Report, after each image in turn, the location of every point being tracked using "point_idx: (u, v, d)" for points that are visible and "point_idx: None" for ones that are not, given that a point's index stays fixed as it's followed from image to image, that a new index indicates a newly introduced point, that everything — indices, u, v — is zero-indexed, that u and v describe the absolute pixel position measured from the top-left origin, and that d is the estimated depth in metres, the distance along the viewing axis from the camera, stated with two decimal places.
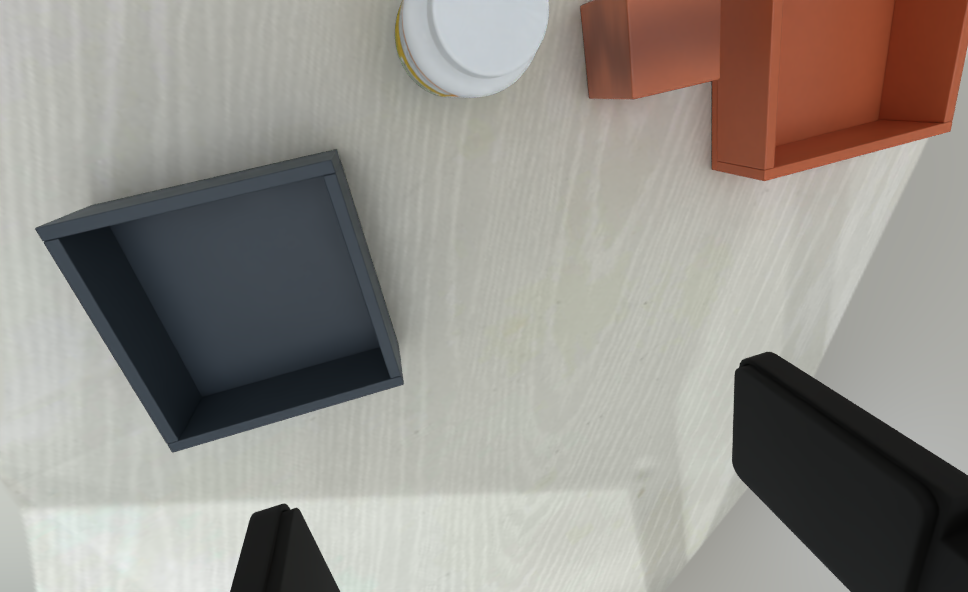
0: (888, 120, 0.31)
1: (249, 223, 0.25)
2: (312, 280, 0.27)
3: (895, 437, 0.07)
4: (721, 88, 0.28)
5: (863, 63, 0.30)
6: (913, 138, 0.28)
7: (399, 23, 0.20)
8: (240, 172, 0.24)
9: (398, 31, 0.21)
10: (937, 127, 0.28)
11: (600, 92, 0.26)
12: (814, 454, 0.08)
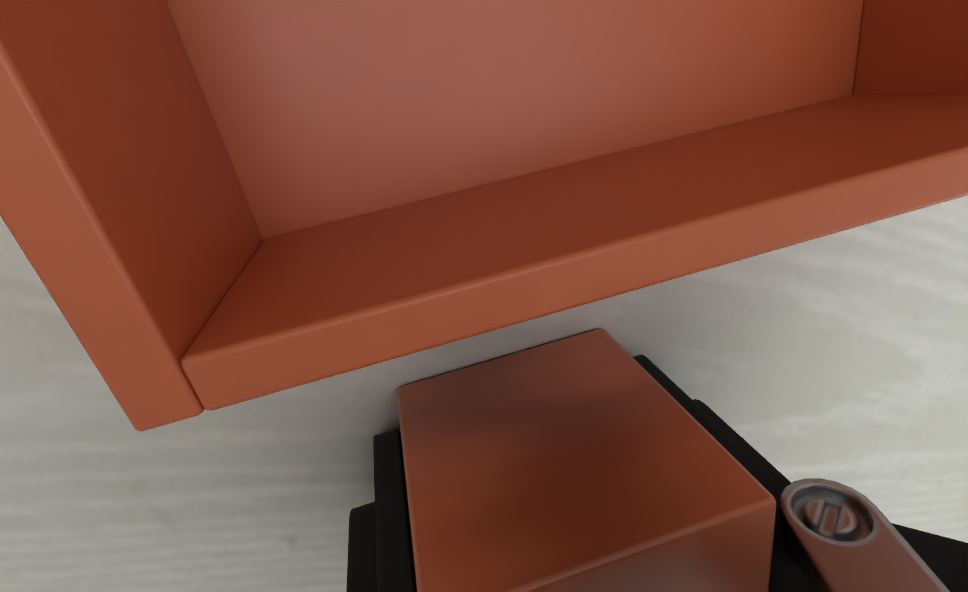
0: None
1: None
2: None
3: (717, 433, 0.08)
4: None
5: None
6: None
7: None
8: None
9: None
10: None
11: None
12: None
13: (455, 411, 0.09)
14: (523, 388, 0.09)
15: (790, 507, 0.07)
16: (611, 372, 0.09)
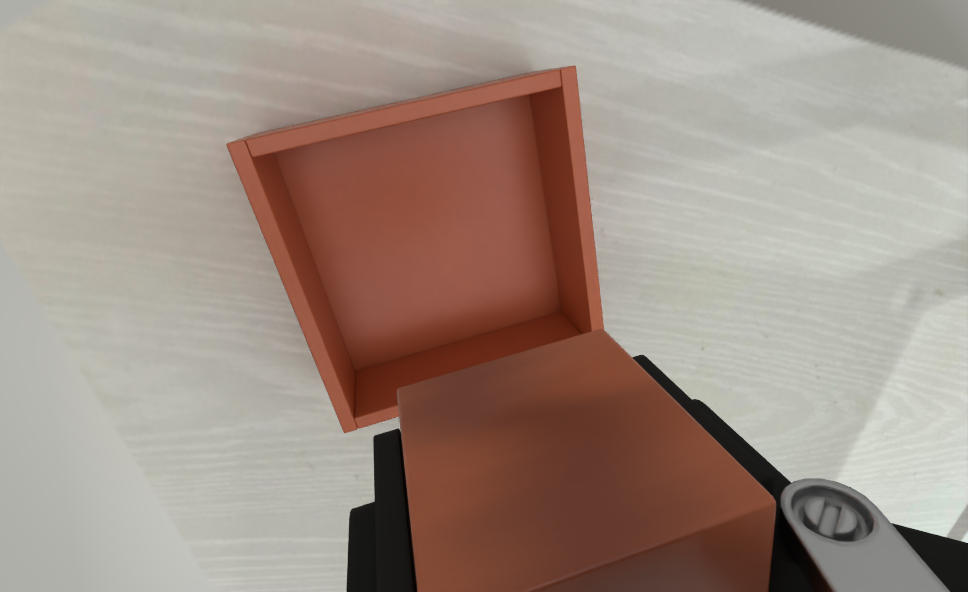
0: None
1: None
2: None
3: (717, 433, 0.08)
4: None
5: (456, 146, 0.21)
6: (579, 141, 0.18)
7: None
8: None
9: None
10: (567, 97, 0.18)
11: None
12: None
13: (455, 412, 0.09)
14: (523, 389, 0.09)
15: (790, 507, 0.07)
16: (611, 373, 0.09)
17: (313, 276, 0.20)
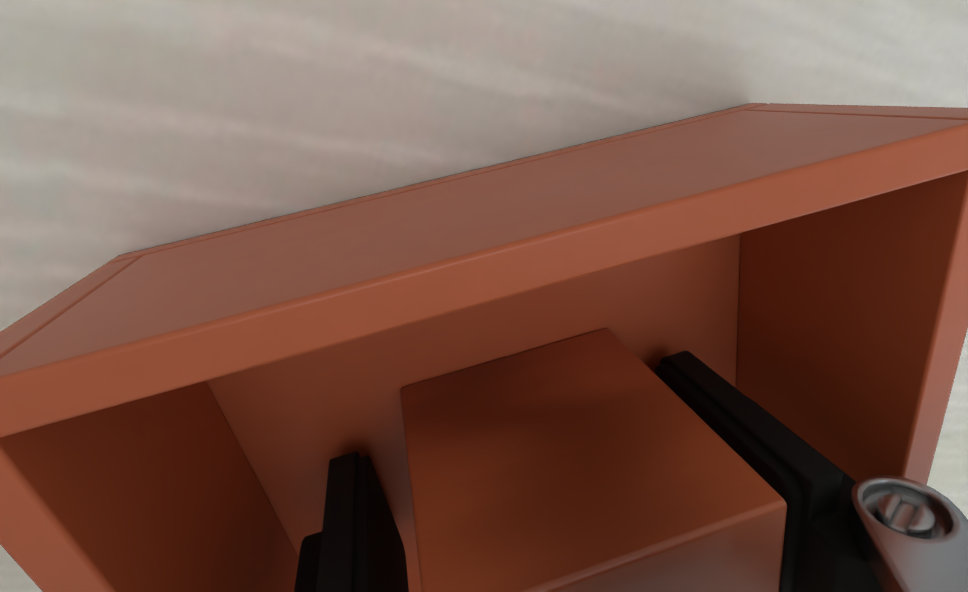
0: None
1: None
2: None
3: (776, 429, 0.08)
4: None
5: None
6: (965, 307, 0.07)
7: None
8: None
9: None
10: None
11: None
12: None
13: (460, 412, 0.09)
14: (528, 389, 0.09)
15: (861, 504, 0.07)
16: (617, 372, 0.09)
17: (261, 569, 0.09)
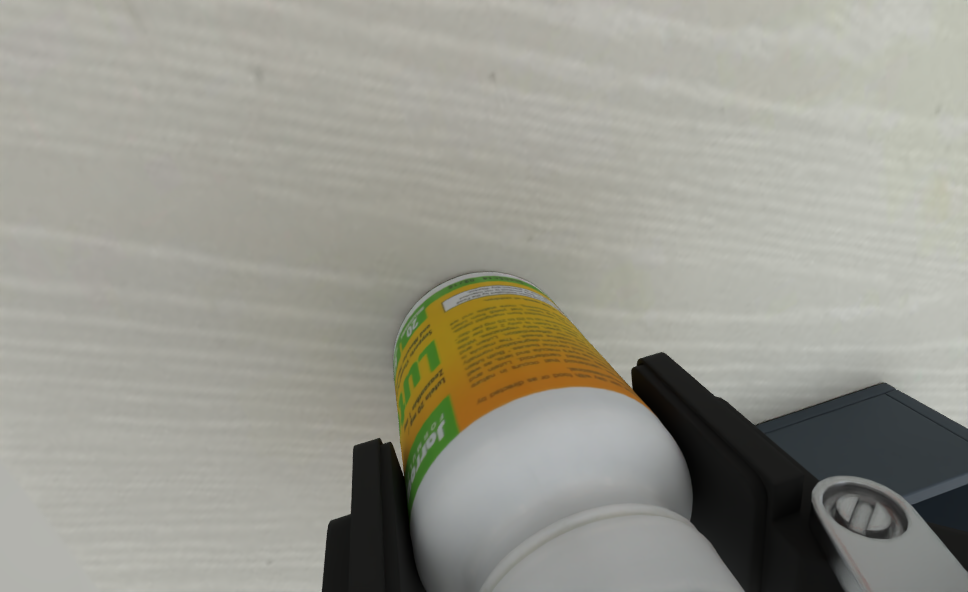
0: None
1: None
2: None
3: (743, 430, 0.08)
4: None
5: None
6: None
7: None
8: None
9: None
10: None
11: None
12: (686, 447, 0.09)
13: None
14: None
15: (821, 505, 0.07)
16: None
17: None
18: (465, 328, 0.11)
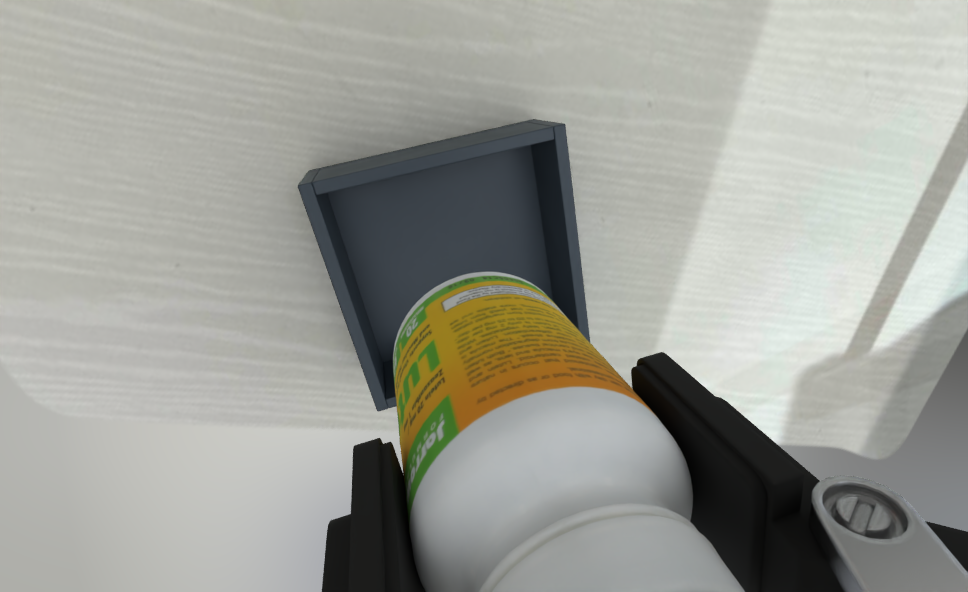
0: None
1: (387, 258, 0.27)
2: (447, 207, 0.26)
3: (743, 430, 0.08)
4: None
5: None
6: None
7: None
8: None
9: None
10: None
11: None
12: (686, 447, 0.09)
13: None
14: None
15: (821, 505, 0.07)
16: None
17: None
18: (465, 327, 0.11)
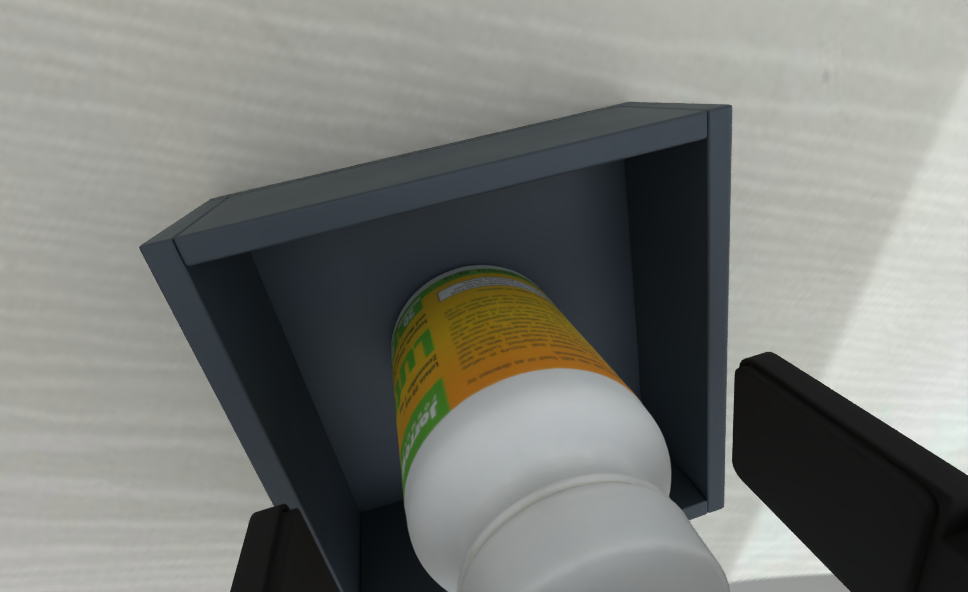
0: None
1: (363, 351, 0.15)
2: (471, 261, 0.15)
3: (895, 437, 0.07)
4: None
5: None
6: None
7: None
8: None
9: None
10: None
11: None
12: (814, 454, 0.08)
13: None
14: None
15: None
16: None
17: None
18: (459, 316, 0.12)
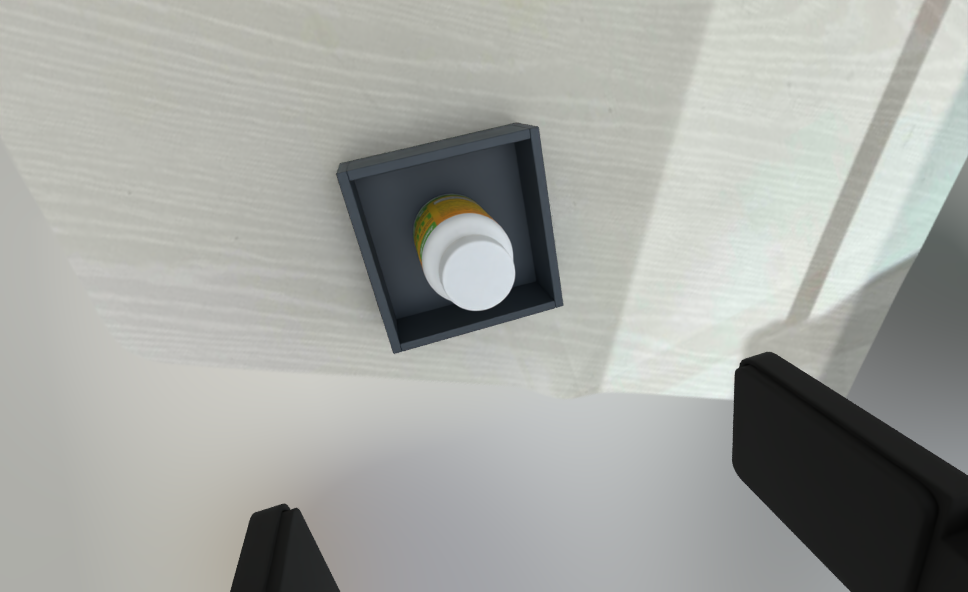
0: None
1: (400, 233, 0.34)
2: (448, 192, 0.33)
3: (895, 437, 0.07)
4: None
5: None
6: None
7: None
8: None
9: None
10: None
11: None
12: (814, 454, 0.08)
13: None
14: None
15: None
16: None
17: None
18: (441, 206, 0.30)
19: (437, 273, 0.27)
